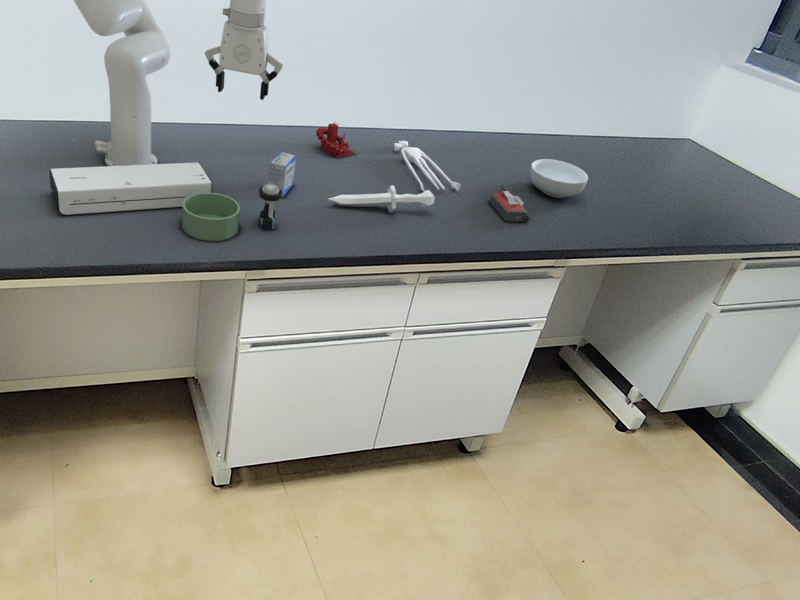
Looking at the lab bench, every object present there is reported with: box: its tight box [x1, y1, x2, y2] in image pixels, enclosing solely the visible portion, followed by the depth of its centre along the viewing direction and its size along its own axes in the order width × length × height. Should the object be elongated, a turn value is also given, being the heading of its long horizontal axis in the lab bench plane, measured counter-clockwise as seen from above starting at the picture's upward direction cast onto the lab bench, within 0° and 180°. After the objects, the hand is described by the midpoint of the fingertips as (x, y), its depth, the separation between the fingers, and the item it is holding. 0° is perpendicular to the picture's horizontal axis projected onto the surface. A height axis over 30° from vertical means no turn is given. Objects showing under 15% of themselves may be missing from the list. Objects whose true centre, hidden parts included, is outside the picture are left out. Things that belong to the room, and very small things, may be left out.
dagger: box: [327, 185, 435, 213], centre depth 198 cm, size 8×6×28 cm
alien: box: [393, 140, 462, 192], centre depth 224 cm, size 12×32×5 cm, turn 24°
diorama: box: [315, 122, 356, 159], centre depth 223 cm, size 11×12×8 cm
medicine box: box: [267, 151, 297, 198], centre depth 196 cm, size 8×4×9 cm, turn 168°
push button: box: [258, 183, 282, 230], centre depth 180 cm, size 7×5×10 cm
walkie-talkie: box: [489, 184, 531, 223], centre depth 214 cm, size 9×4×20 cm
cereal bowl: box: [529, 158, 589, 199], centre depth 227 cm, size 17×17×7 cm
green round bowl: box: [181, 192, 241, 242], centre depth 175 cm, size 13×13×6 cm
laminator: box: [48, 162, 213, 216], centre depth 180 cm, size 34×12×6 cm, turn 118°
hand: (241, 94), depth 177 cm, fingers open, 9 cm apart
